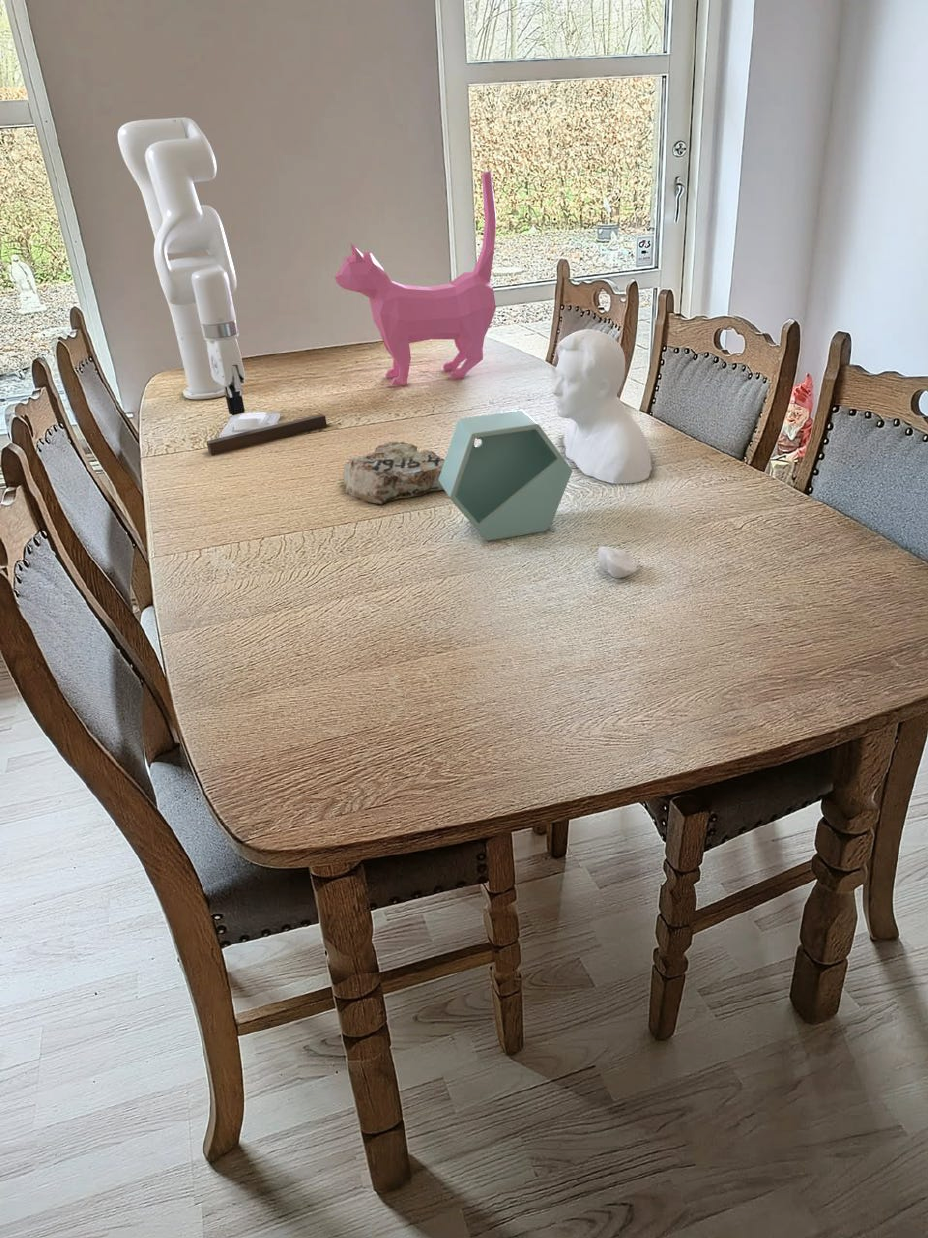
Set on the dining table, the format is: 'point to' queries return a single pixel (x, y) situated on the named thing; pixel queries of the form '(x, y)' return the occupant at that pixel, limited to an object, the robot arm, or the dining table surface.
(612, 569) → the dumpling
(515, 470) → the planter
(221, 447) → the back rail
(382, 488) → the stone
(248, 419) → the light switch
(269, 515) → the dining table surface
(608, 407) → the bust
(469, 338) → the cat
